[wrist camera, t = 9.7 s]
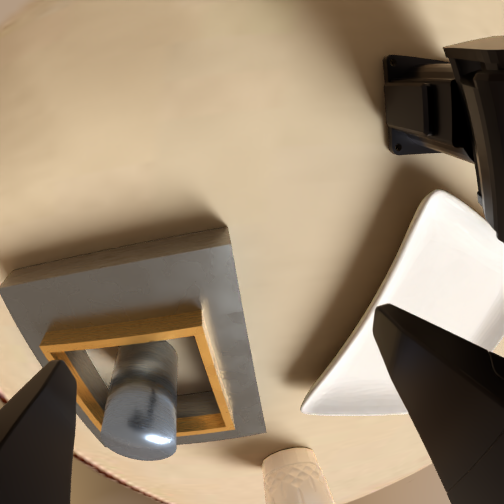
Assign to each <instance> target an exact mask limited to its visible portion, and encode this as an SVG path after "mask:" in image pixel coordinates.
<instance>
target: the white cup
mask: <svg viewBox="0 0 504 504" xmlns="http://www.w3.org/2000/svg"><path fill="white" fill-rule="evenodd" d="M262 471H263V478H264V490H265V500H266V504H335V502H334V499H333V497H332V494H331V492H330V489H329V486H328V484H327V481H326V478H325V477H324V475H323V472H322V469H321V468H320V467H319V464H318V462H317V459H316V456H315V454H314V452H313V450H311V449H308V448H291V449H286V450H281V451H279V452H276V453H274V454H271V455H270V456H268V457H267V458H266V459H264V461H263V463H262Z"/></svg>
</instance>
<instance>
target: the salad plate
mask: <svg viewBox="0 0 504 504" xmlns="http://www.w3.org/2000/svg"><path fill="white" fill-rule="evenodd" d="M387 303H390V304H392V305H395V306H397V307H399V308H401V309H403V310H405V311H407V312H409V313H411V314H414V315H416V316H418V317H420V318H422V319H424V320H426V321H428V322H430V323H432V324H435V325H437V326H439V327H441V328H443V329H445V330H447V331H449V332H451V333H453V334H455V335H457V336H460V337H462V338H464V339H466V340H468V341H470V342H472V343H474V344H476V345H478V346H480V347H482V348H484V349H486V350H488V352H489V351H491V352H493V350H494V349H495V348H496V346H497V345H498V344H499V342H500V341H501V339H502V338H503V337H504V243H503V242H501V241H500V240H498V239H497V238H496V231H494V230H493V228H492V227H491V226H490V224H489V223H488V222H487V221H486V220H485V219H484V218H483V217H481V216H480V215H479V214H478V213H477V212H475V211H474V210H473V209H472V208H471V207H469V206H468V205H467V204H465V203H464V202H463V201H461V200H460V199H458V198H457V197H455V196H453V195H452V194H450V193H449V192H447V191H444V190H442V189H436V190H434V191H432V192H430V193H429V194H428V195H427V196H426V197H425V198H424V199H423V200H422V202H421V203H420V205H419V206H418V208H417V210H416V212H415V215H414V217H413V219H412V221H411V223H410V226H409V228H408V230H407V233H406V235H405V237H404V239H403V242H402V244H401V246H400V248H399V251H398V253H397V255H396V257H395V259H394V261H393V263H392V265H391V267H390V269H389V271H388V273H387V275H386V277H385V279H384V280H383V282H382V284H381V286H380V288H379V289H378V291H377V293H376V295H375V297H374V298H373V300H372V302H371V303H370V305H369V307H368V308H367V310H366V312H365V313H364V315H363V316H362V318H361V320H360V321H359V323H358V324H357V326H356V327H355V329H354V330H353V332H352V333H351V335H350V336H349V338H348V339H347V341H346V342H345V344H344V345H343V346H342V348H341V349H340V351H339V352H338V353H337V355H336V356H335V358H334V359H333V360H332V362H331V363H330V364H329V366H328V367H327V368H326V369H325V371H324V372H323V373H322V374H321V376H320V377H319V378H318V379H317V381H316V382H315V383H314V384H313V386H312V387H311V389H310V390H309V392H308V393H307V395H306V396H305V398H304V400H303V403H302V405H301V408H300V410H301V412H302V413H304V414H310V415H327V416H374V415H398V414H409V413H408V411H407V409H406V407H405V406H404V404H403V402H402V400H401V398H400V396H399V394H398V392H397V390H396V388H395V386H394V384H393V382H392V380H391V378H390V376H389V374H388V371H387V369H386V366H385V363H384V361H383V358H382V356H381V353H380V351H379V348H378V346H377V343H376V341H375V339H374V336H373V331H372V328H373V320H374V312H375V308H376V307H377V306H379V305H383V304H387Z"/></svg>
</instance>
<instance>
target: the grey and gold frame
mask: <svg viewBox="0 0 504 504" xmlns="http://www.w3.org/2000/svg"><path fill="white" fill-rule="evenodd" d="M0 294H1V296H2V298H3V300H4V302H5V304H6V306H7V308H8V310H9V312H10V314H11V316H12V318H13V319H14V321H15V323H16V325H17V327H18V328H19V330H20V332H21V334H22V335H23V337H24V339H25V340H26V342H27V344H28V345H29V347H30V349H31V350H32V352H33V353H34V355H35V357H36V358H37V360H38V361H39V363H40V364H41V366H42V367H44V366H45V365H46V364H47V363H48V362H50V361H51V360H63V361H64V362H65V363H66V365H67V366H68V368H69V369H70V371H71V372H72V374H73V376H74V377H75V379H76V382H77V397H76V414H77V415H78V416H79V417H80V419H81V420H82V421H83V422H84V424H85V425H86V426H87V427H88V428H89V429H90V431H91V432H92V433H93V434H94V435H95V436H96V438H97V439H98V440H99V441H100V442H101V443H102V444H103V445H104V446H105V447H107V446H106V445H105V444H104V443H103V442H102V440H101V437H100V434H101V428H102V423H103V417H104V412H105V407H106V402H107V397H108V392H109V390H108V388H107V387H106V385H105V384H104V382H103V380H102V379H101V377H100V375H99V374H98V372H97V370H96V369H95V367H94V365H93V364H92V362H91V360H90V359H89V357H88V355H87V353H86V352H85V349H95V348H104V347H113V346H122V345H130V344H138V343H146V342H153V341H161V340H168V339H174V338H181V337H188V336H195V339H196V342H197V345H198V348H199V351H200V354H201V357H202V360H203V363H204V366H205V369H206V372H207V375H208V378H209V381H210V384H211V387H212V390H213V391H210V392H203V393H196V394H188V395H180V396H177V419H176V445H180V444H191V443H201V442H209V441H217V440H225V439H232V438H238V437H244V436H250V435H256V434H261V433H266V428H265V423H264V418H263V413H262V408H261V402H260V397H259V392H258V387H257V382H256V377H255V372H254V366H253V361H252V356H251V351H250V345H249V340H248V335H247V329H246V324H245V319H244V313H243V308H242V302H241V297H240V291H239V286H238V280H237V275H236V269H235V263H234V258H233V252H232V246H231V241H230V236H229V231H228V227H223V228H218V229H212V230H207V231H201V232H196V233H190V234H185V235H180V236H175V237H169V238H164V239H159V240H154V241H149V242H144V243H139V244H133V245H128V246H124V247H119V248H114V249H109V250H104V251H99V252H94V253H90V254H85V255H80V256H75V257H71V258H66V259H61V260H57V261H52V262H48V263H43V264H39V265H34V266H30V267H26V268H21V269H17V270H13V271H12V272H11V273H10V274H9V276H8V277H7V278H6V279H5V280H4V282H3V283H2V284H1V285H0Z"/></svg>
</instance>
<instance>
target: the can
mask: <svg viewBox="0 0 504 504" xmlns="http://www.w3.org/2000/svg"><path fill="white" fill-rule="evenodd" d="M177 374H178V356H177V353H176V351H175V349H174V348H173V347H172V346H171V345H170V344H169V343H168V342H166V341H164V340H161V341H153V342H146V343H138V344H130V345H122V346H119V349H118V353H117V357H116V361H115V366H114V370H113V374H112V379H111V383H110V388H109V392H108V397H107V402H106V407H105V412H104V417H103V423H102V428H101V434H100V437H101V440H102V442H103V443H104V444H105V445H106V446H107V447H108V448H109V449H110V450H112V451H114V452H115V453H117V454H120V455H122V456H125V457H128V458H132V459H137V460H146V461H153V460H161V459H165V458H168V457H170V456H171V455H173V454H174V453H175V451H176V419H177Z"/></svg>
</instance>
